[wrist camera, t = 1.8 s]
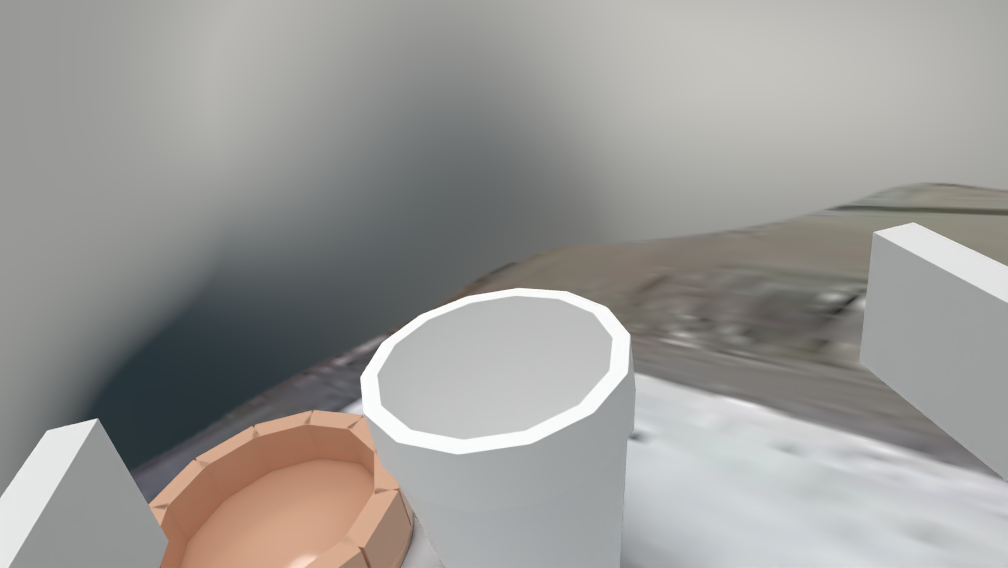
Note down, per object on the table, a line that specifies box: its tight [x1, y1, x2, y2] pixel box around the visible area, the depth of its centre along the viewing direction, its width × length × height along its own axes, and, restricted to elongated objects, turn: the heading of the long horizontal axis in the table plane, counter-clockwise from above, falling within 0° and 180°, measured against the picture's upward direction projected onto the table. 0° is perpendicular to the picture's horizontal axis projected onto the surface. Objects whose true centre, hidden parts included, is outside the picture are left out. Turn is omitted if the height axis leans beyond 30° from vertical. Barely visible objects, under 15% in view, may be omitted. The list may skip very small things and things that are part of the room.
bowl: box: [148, 410, 414, 568], centre depth 33 cm, size 13×13×3 cm
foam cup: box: [361, 288, 636, 568], centre depth 26 cm, size 10×9×13 cm
